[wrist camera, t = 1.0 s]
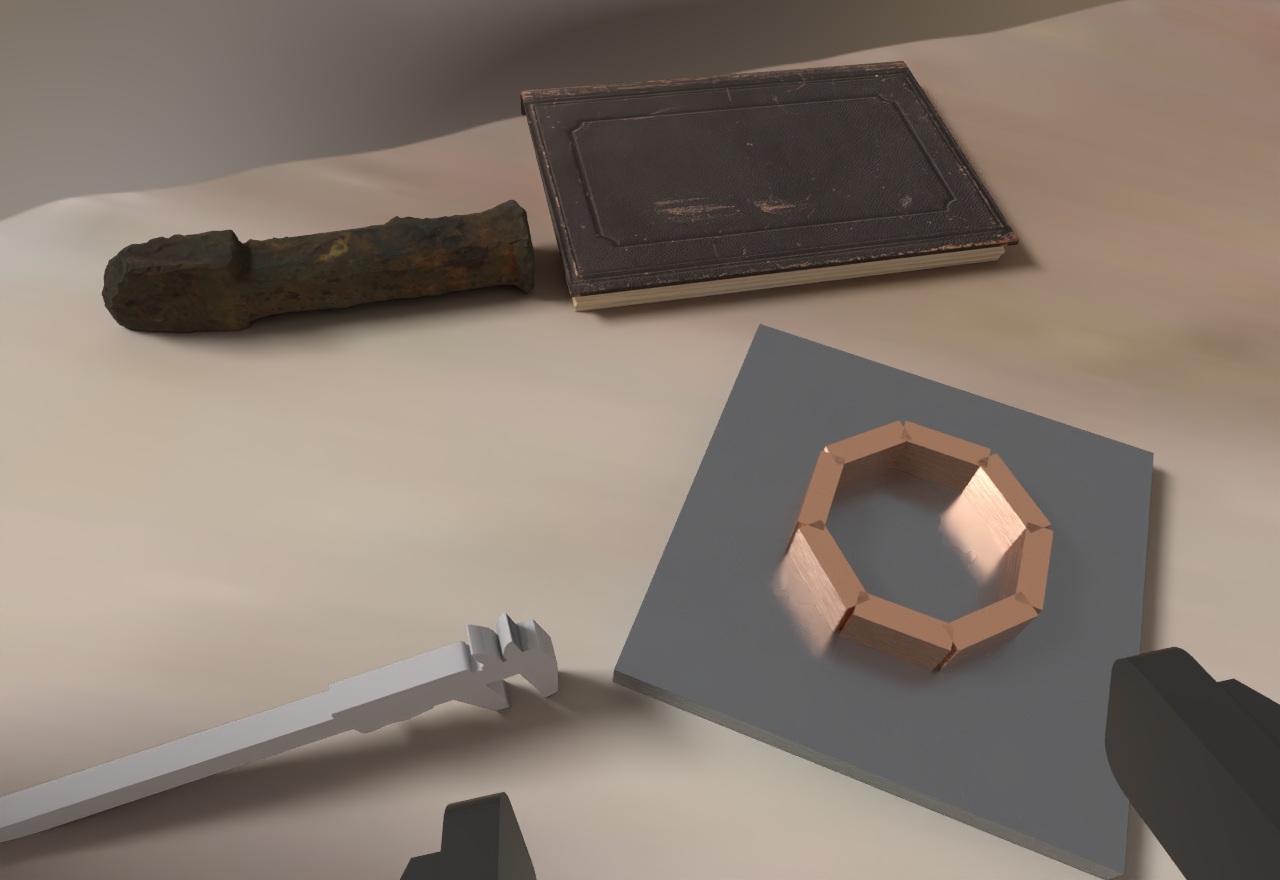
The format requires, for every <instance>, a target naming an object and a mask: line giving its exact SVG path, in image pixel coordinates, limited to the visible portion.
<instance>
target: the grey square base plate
mask: <svg viewBox="0 0 1280 880" xmlns="http://www.w3.org/2000/svg"><path fill="white" fill-rule="evenodd" d="M1153 454H1154V453H1152V452H1149V451H1145V450H1142V449H1139V448H1136V447H1133V446H1130V445H1127V444H1124V443H1121V442H1118V441H1115V440H1112V439H1109V438H1106V437H1103V436H1100V435H1097V434H1094V433H1091V432H1088V431H1085V430H1081V429H1078V428H1075V427H1072V426H1069V425H1066V424H1063V423H1060V422H1057V421H1054V420H1051V419H1048V418H1045V417H1042V416H1039V415H1036V414H1033V413H1030V412H1027V411H1024V410H1021V409H1017V408H1014V407H1011V406H1008V405H1005V404H1002V403H999V402H996V401H993V400H990V399H987V398H984V397H981V396H978V395H975V394H972V393H969V392H966V391H963V390H960V389H956V388H953V387H950V386H947V385H944V384H941V383H938V382H935V381H932V380H929V379H926V378H923V377H920V376H917V375H914V374H911V373H908V372H905V371H902V370H899V369H896V368H892V367H889V366H886V365H883V364H880V363H877V362H874V361H871V360H868V359H865V358H862V357H859V356H856V355H853V354H850V353H847V352H844V351H841V350H838V349H835V348H831V347H828V346H825V345H822V344H819V343H816V342H813V341H810V340H807V339H804V338H801V337H798V336H795V335H792V334H789V333H786V332H783V331H780V330H777V329H774V328H771V327H767V326H764V325H761V324H760V325H759V327H758V329H757V332H756V334H755V336H754V339H753V341H752V344H751V346H750V348H749V351H748V353H747V355H746V358H745V360H744V363H743V365H742V367H741V370H740V372H739V374H738V377H737V379H736V382H735V384H734V386H733V389H732V391H731V393H730V396H729V398H728V401H727V403H726V405H725V408H724V410H723V412H722V415H721V417H720V420H719V422H718V424H717V427H716V429H715V431H714V434H713V436H712V439H711V441H710V443H709V446H708V448H707V450H706V453H705V455H704V458H703V460H702V462H701V465H700V467H699V469H698V472H697V474H696V477H695V479H694V481H693V484H692V486H691V488H690V491H689V493H688V496H687V498H686V500H685V503H684V505H683V507H682V510H681V512H680V515H679V517H678V519H677V522H676V524H675V526H674V529H673V531H672V534H671V536H670V538H669V541H668V543H667V545H666V548H665V550H664V553H663V555H662V557H661V560H660V562H659V564H658V567H657V569H656V572H655V574H654V576H653V579H652V581H651V583H650V586H649V588H648V591H647V593H646V595H645V598H644V600H643V602H642V605H641V607H640V610H639V612H638V614H637V617H636V619H635V621H634V624H633V626H632V629H631V631H630V633H629V636H628V638H627V640H626V643H625V645H624V648H623V650H622V652H621V655H620V657H619V659H618V662H617V664H616V667H615V669H614V676H613V682H616V683H618V684H621V685H623V686H626V687H628V688H631V689H633V690H636V691H638V692H641V693H643V694H646V695H648V696H651V697H653V698H656V699H658V700H661V701H663V702H665V703H668V704H670V705H673V706H675V707H678V708H680V709H683V710H685V711H688V712H690V713H693V714H695V715H698V716H700V717H703V718H705V719H708V720H710V721H713V722H715V723H718V724H720V725H723V726H725V727H728V728H730V729H732V730H735V731H737V732H740V733H742V734H745V735H747V736H750V737H752V738H755V739H757V740H760V741H762V742H765V743H767V744H770V745H772V746H775V747H777V748H780V749H782V750H785V751H787V752H790V753H792V754H795V755H797V756H799V757H802V758H804V759H807V760H809V761H812V762H814V763H817V764H819V765H822V766H824V767H827V768H829V769H832V770H834V771H837V772H839V773H842V774H844V775H847V776H849V777H852V778H854V779H857V780H859V781H862V782H864V783H866V784H869V785H871V786H874V787H876V788H879V789H881V790H884V791H886V792H889V793H891V794H894V795H896V796H899V797H901V798H904V799H906V800H909V801H911V802H914V803H916V804H919V805H921V806H924V807H926V808H929V809H931V810H933V811H936V812H938V813H941V814H943V815H946V816H948V817H951V818H953V819H956V820H958V821H961V822H963V823H966V824H968V825H971V826H973V827H976V828H978V829H981V830H983V831H986V832H988V833H991V834H993V835H996V836H998V837H1000V838H1003V839H1005V840H1008V841H1010V842H1013V843H1015V844H1018V845H1020V846H1023V847H1025V848H1028V849H1030V850H1033V851H1035V852H1038V853H1040V854H1043V855H1045V856H1048V857H1050V858H1053V859H1055V860H1058V861H1060V862H1063V863H1065V864H1067V865H1070V866H1072V867H1075V868H1077V869H1080V870H1082V871H1085V872H1087V873H1090V874H1092V875H1095V876H1097V877H1100V878H1102V879H1105V880H1109V879H1112V878H1115V877H1118V876H1121V875H1124V874H1125V859H1126V845H1127V830H1128V816H1129V800H1128V798H1127V797H1126V795H1125V794H1124V793H1123V791H1122V790H1121V788H1120V787H1119V785H1118V783H1117V781H1116V779H1115V777H1114V775H1113V773H1112V771H1111V768H1110V765H1109V762H1108V759H1107V755H1106V750H1105V730H1106V721H1107V711H1108V701H1109V691H1110V681H1111V671H1112V666H1113V664H1114V662H1115V661H1116V660H1118V659H1121V658H1125V657H1130V656H1134V655H1139V654H1140V642H1141V628H1142V613H1143V599H1144V584H1145V570H1146V555H1147V541H1148V527H1149V512H1150V498H1151V483H1152V469H1153Z"/></svg>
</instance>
